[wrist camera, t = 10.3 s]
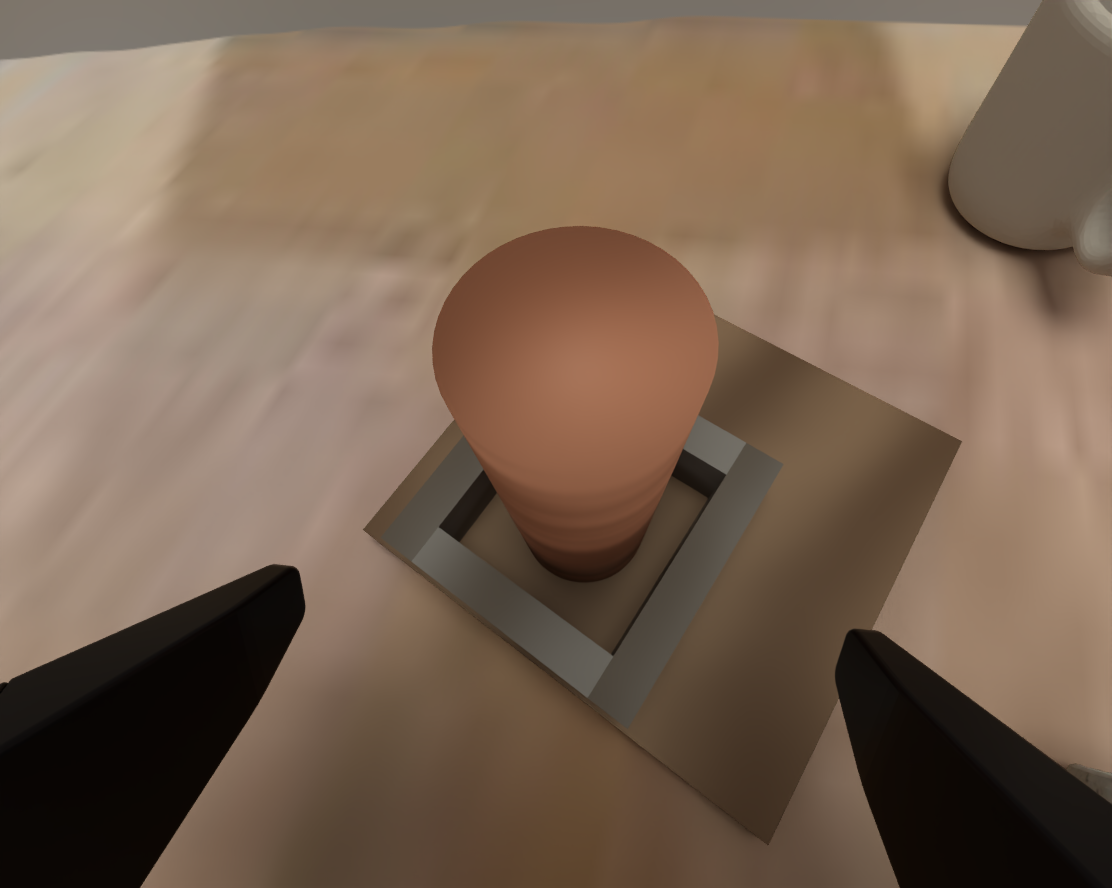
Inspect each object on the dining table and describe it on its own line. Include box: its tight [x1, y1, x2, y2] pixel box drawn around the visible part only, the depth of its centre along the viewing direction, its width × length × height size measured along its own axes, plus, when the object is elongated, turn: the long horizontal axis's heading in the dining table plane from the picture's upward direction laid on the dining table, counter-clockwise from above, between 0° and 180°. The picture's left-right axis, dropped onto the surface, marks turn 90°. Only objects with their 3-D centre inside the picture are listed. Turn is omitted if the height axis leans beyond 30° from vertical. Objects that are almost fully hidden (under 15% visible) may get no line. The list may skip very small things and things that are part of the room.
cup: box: [948, 0, 1112, 276], centre depth 18 cm, size 11×8×8 cm
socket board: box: [363, 315, 962, 845], centre depth 17 cm, size 15×14×4 cm
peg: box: [432, 226, 719, 583], centre depth 13 cm, size 4×4×11 cm
